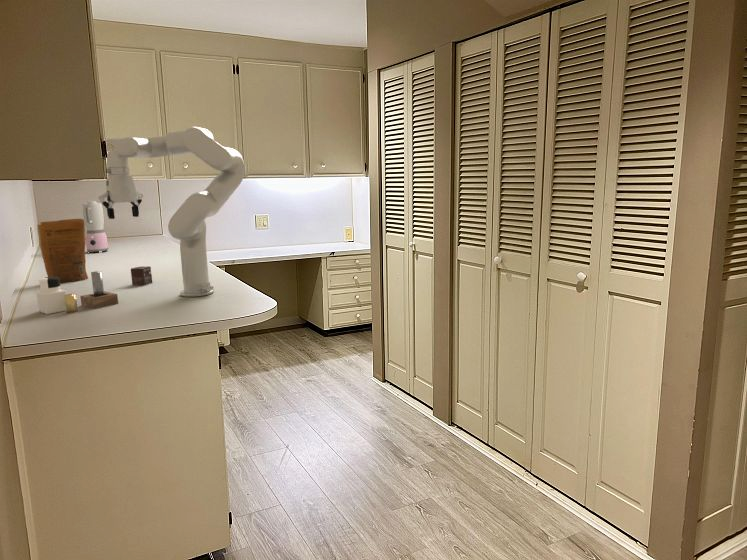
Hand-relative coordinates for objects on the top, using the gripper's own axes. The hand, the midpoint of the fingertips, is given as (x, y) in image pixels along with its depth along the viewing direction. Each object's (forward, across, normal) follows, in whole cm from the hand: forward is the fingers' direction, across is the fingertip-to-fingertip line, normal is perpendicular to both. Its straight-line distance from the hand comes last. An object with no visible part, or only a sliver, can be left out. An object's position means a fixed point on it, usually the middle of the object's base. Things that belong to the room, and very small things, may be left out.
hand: (124, 217), depth 210 cm
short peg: (+30, -27, -8) cm, 41 cm away
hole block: (+30, -16, -5) cm, 35 cm away
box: (+31, +14, +17) cm, 38 cm away
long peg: (+30, -16, -5) cm, 34 cm away
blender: (+30, +59, +144) cm, 158 cm away
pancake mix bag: (+30, +1, +54) cm, 62 cm away
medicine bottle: (+30, -30, 0) cm, 43 cm away
